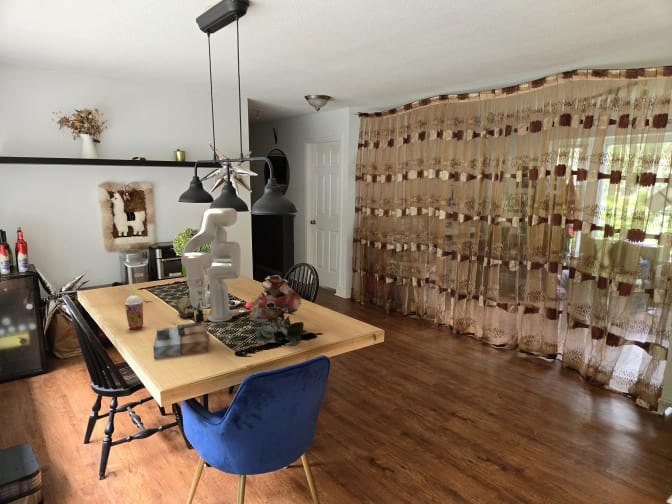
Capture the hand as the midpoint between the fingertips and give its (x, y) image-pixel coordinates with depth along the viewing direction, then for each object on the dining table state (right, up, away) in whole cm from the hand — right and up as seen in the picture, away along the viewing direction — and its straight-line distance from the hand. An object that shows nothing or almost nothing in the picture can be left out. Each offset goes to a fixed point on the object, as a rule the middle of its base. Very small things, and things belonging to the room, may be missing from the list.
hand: (198, 320), depth 194 cm
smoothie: (-39, -7, +21) cm, 45 cm away
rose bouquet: (+35, -9, +8) cm, 37 cm away
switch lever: (-3, -3, -2) cm, 4 cm away
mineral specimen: (-18, -4, +41) cm, 45 cm away
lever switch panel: (-7, -11, -2) cm, 13 cm away
